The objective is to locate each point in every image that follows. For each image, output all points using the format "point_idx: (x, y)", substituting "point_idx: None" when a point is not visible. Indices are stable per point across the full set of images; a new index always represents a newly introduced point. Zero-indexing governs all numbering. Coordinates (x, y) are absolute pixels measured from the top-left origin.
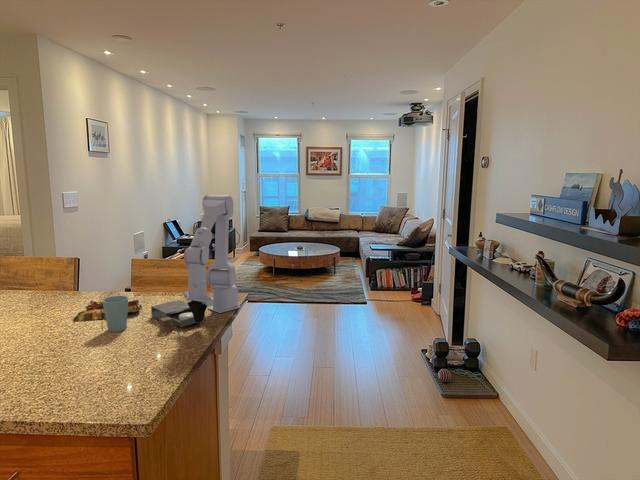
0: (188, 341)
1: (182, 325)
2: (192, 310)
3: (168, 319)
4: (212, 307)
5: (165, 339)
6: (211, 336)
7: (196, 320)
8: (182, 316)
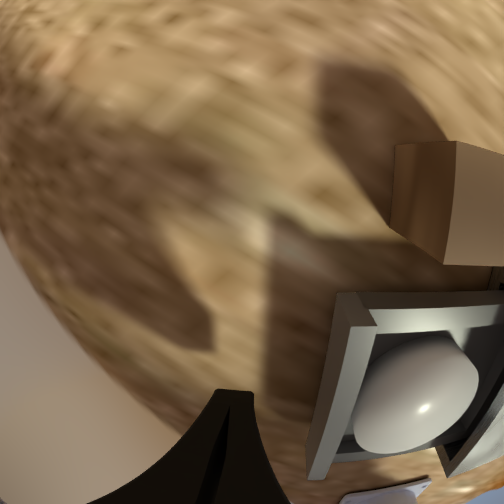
0: (80, 185)
1: (338, 305)
2: (237, 485)
3: (459, 214)
4: (416, 490)
5: (243, 67)
6: (77, 330)
7: (210, 404)
8: (435, 380)
